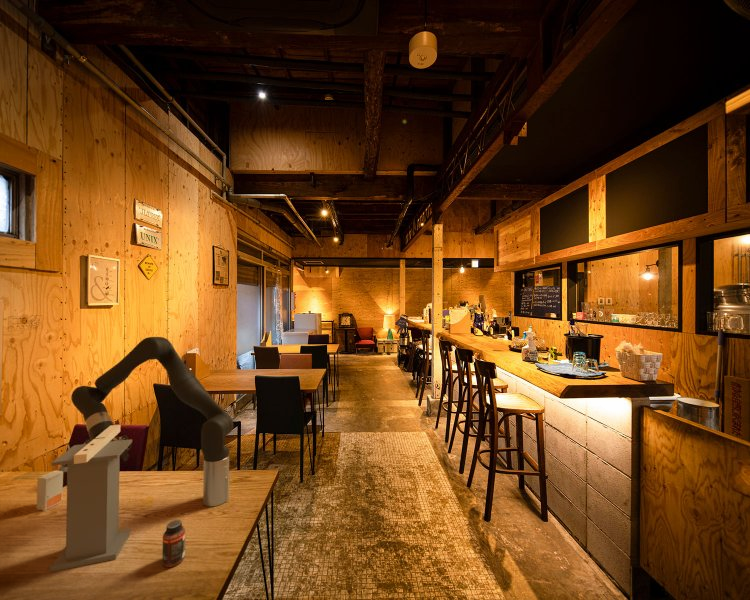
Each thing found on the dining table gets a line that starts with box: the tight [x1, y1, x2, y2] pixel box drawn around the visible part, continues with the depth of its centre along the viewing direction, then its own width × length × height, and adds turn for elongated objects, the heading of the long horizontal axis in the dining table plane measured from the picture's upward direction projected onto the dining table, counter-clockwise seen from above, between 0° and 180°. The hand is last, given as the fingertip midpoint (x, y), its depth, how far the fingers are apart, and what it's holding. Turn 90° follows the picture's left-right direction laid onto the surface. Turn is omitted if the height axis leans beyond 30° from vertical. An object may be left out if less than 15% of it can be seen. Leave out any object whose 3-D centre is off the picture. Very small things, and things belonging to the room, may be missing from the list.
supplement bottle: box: [162, 519, 186, 568], centre depth 101 cm, size 6×6×11 cm
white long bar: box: [74, 424, 121, 464], centre depth 107 cm, size 3×24×3 cm, turn 19°
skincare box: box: [36, 470, 64, 511], centre depth 127 cm, size 6×4×12 cm
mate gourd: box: [58, 444, 71, 488], centre depth 142 cm, size 8×8×15 cm
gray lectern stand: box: [49, 439, 133, 573], centre depth 104 cm, size 16×12×32 cm
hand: (114, 462), depth 119 cm, fingers open, 8 cm apart
